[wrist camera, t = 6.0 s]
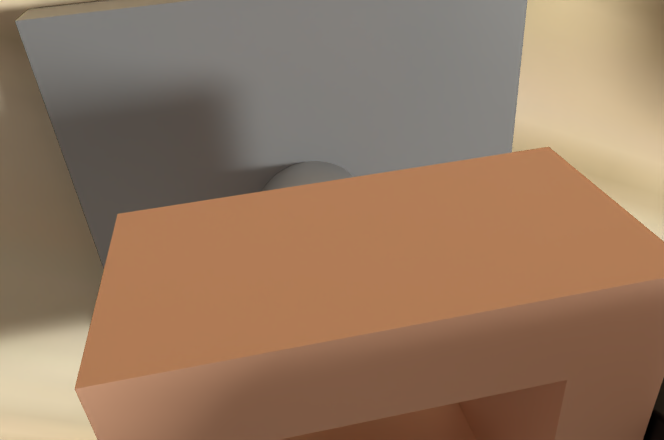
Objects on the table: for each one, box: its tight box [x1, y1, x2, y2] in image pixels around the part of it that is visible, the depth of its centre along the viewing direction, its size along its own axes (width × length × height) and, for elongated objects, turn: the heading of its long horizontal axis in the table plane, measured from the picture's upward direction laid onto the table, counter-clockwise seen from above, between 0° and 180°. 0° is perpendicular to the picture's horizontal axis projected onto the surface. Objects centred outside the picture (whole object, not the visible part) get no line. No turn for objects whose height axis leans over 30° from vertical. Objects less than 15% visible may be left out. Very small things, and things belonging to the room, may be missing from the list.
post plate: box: [15, 0, 527, 268], centre depth 12 cm, size 10×10×6 cm
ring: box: [75, 147, 664, 440], centre depth 9 cm, size 6×6×3 cm
